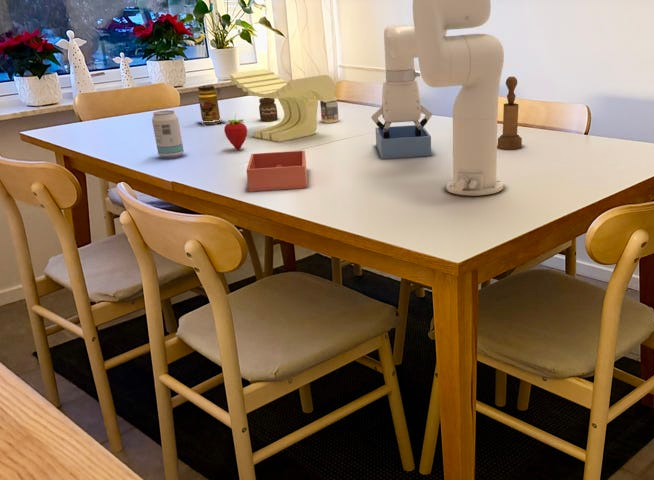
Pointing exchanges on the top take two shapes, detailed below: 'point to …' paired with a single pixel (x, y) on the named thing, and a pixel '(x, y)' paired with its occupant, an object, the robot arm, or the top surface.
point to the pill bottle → (329, 111)
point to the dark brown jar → (267, 109)
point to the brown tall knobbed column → (510, 119)
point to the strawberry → (236, 132)
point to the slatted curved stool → (288, 101)
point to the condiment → (208, 104)
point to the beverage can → (167, 134)
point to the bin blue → (403, 142)
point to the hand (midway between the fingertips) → (402, 145)
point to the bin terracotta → (277, 171)
